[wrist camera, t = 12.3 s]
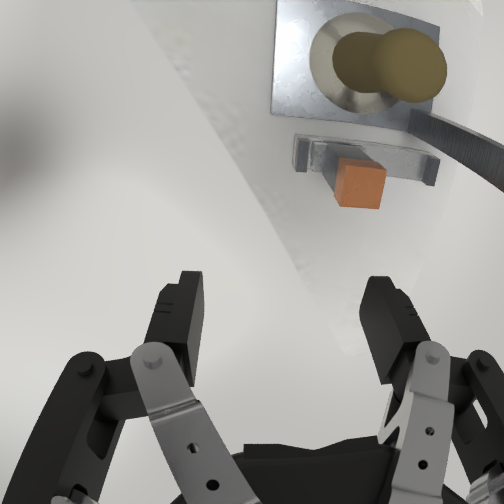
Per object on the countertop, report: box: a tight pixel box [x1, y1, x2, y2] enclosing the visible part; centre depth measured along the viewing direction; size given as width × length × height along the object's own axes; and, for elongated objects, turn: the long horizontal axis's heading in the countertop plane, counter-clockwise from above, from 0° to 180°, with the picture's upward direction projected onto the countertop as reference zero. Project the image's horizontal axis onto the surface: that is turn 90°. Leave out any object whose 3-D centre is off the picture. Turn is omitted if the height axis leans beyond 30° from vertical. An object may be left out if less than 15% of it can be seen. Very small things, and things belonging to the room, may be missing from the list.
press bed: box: [270, 0, 504, 192], centre depth 18 cm, size 16×12×18 cm
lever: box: [311, 142, 387, 209], centre depth 26 cm, size 5×3×8 cm, turn 87°
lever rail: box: [292, 134, 440, 186], centre depth 30 cm, size 15×3×3 cm, turn 88°
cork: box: [332, 28, 447, 103], centre depth 20 cm, size 6×6×11 cm
